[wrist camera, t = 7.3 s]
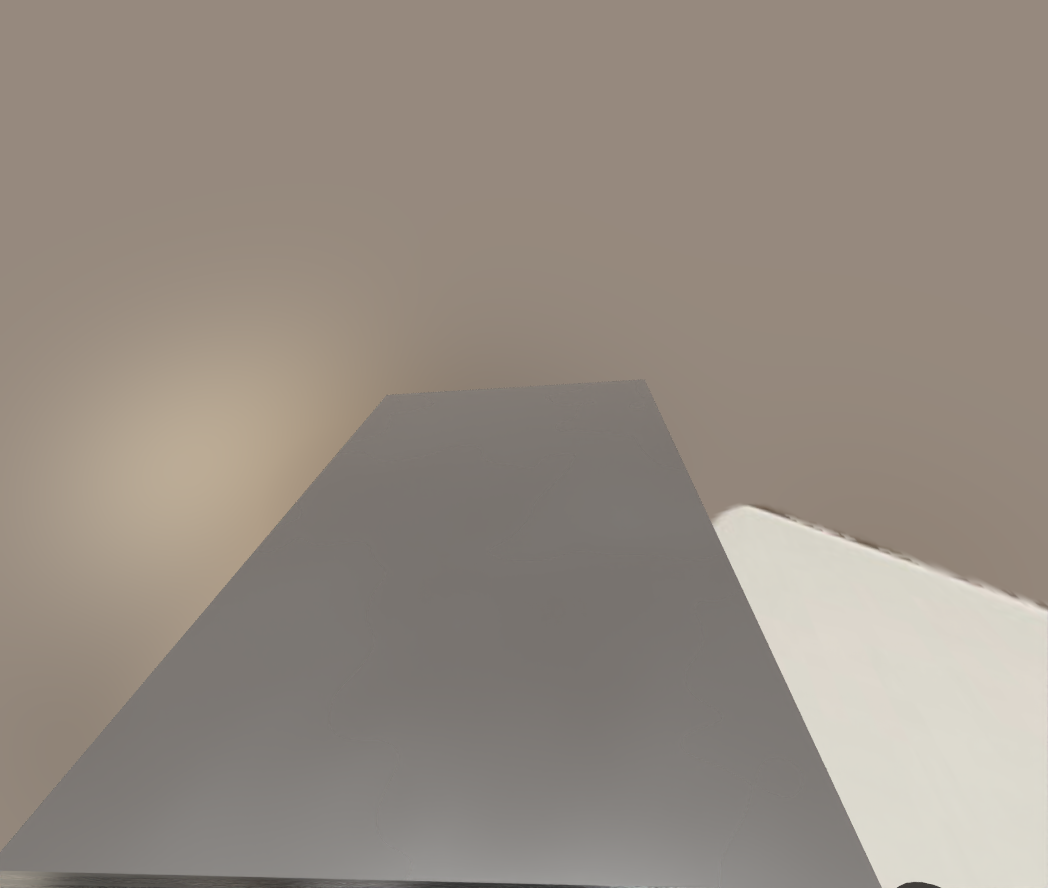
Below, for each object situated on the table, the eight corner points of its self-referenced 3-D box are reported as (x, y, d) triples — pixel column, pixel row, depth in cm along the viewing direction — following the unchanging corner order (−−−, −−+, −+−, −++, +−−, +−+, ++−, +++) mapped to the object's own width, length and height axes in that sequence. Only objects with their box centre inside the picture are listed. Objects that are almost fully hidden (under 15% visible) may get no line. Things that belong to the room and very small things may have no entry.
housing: (637, 785, 15) (644, 379, 10) (710, 1323, 8) (883, 892, 3) (467, 784, 16) (386, 395, 10) (391, 1292, 8) (-14, 868, 3)
